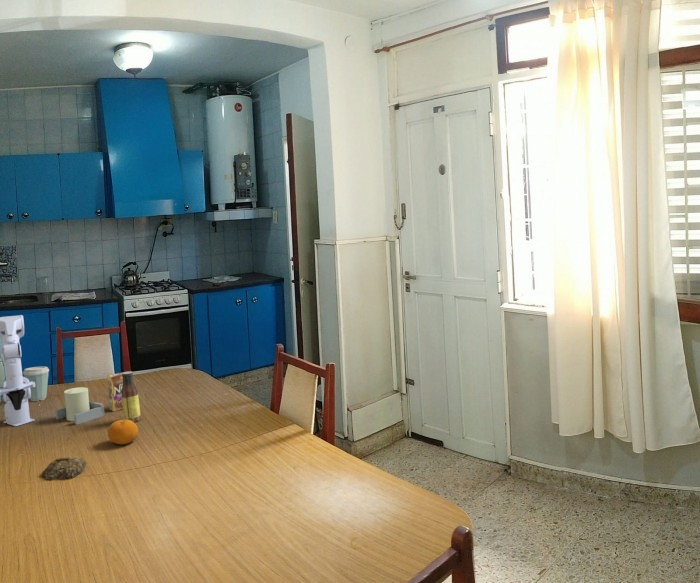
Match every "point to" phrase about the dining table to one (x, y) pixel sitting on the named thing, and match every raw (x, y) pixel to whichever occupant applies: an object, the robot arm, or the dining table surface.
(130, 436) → the fruit
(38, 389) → the disposable coffee cup
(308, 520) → the dining table surface
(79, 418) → the box
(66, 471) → the rough brown rock
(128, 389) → the sauce bottle
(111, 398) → the candy box
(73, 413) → the can
